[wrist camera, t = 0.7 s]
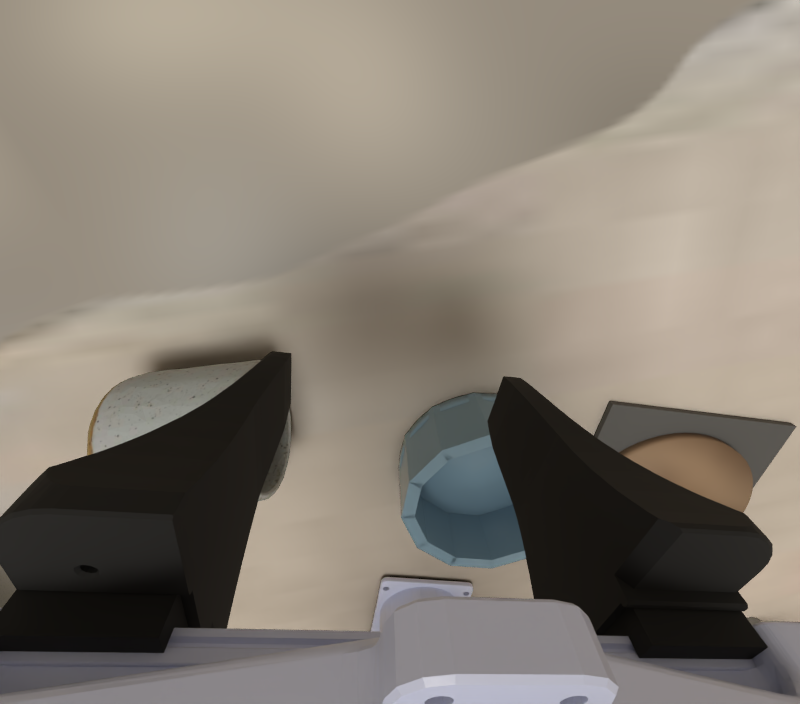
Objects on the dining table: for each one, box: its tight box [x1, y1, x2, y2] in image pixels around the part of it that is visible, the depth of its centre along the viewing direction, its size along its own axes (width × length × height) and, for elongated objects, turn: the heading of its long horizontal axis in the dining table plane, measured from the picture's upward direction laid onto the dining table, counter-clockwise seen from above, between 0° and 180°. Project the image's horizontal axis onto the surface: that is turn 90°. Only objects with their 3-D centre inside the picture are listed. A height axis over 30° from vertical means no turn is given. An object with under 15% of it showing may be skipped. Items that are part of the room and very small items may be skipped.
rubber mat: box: [594, 401, 796, 489], centre depth 30 cm, size 16×14×1 cm
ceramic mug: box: [87, 360, 291, 501], centre depth 22 cm, size 11×8×8 cm
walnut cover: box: [619, 433, 753, 513], centre depth 28 cm, size 13×13×4 cm
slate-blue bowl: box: [398, 393, 526, 568], centre depth 25 cm, size 11×11×4 cm
